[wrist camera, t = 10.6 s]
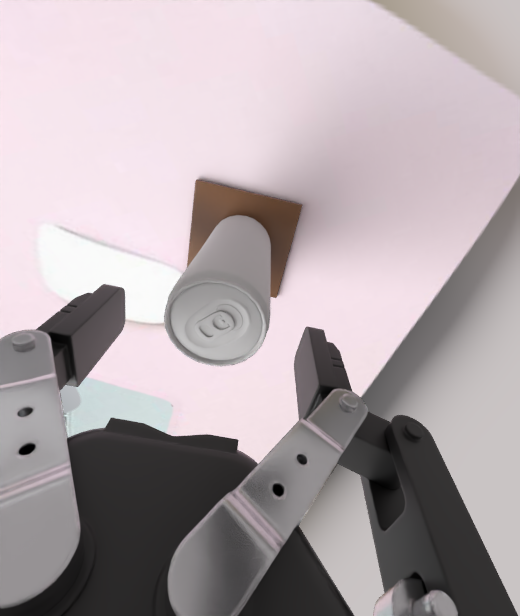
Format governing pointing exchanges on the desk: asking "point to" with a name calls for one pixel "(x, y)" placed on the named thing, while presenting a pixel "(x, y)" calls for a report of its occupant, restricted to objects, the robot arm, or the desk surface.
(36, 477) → the robot arm
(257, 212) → the coaster
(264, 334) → the beverage can
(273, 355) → the desk surface
